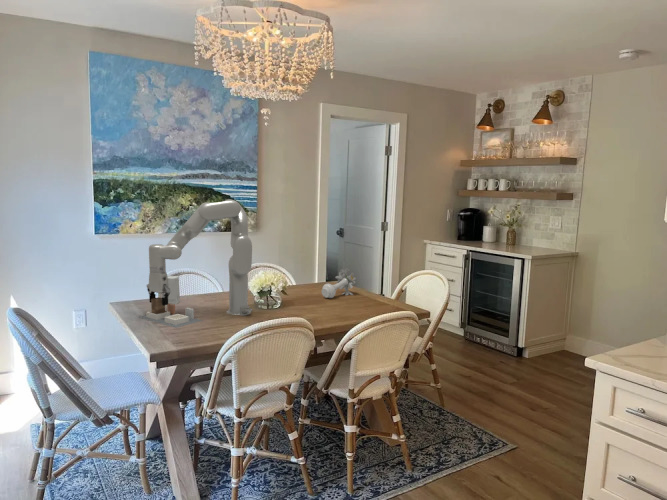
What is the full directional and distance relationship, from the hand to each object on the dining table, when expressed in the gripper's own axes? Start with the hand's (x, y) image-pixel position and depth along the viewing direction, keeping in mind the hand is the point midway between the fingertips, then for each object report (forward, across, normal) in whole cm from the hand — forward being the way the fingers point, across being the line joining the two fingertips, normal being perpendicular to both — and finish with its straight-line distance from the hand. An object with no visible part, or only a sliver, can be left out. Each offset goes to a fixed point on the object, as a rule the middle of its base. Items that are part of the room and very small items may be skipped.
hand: (158, 303), depth 246 cm
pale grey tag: (+7, -14, -7) cm, 17 cm away
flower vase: (+10, -41, -101) cm, 109 cm away
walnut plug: (+7, 0, 0) cm, 7 cm away
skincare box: (+8, +19, -22) cm, 30 cm away
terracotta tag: (+7, 0, -7) cm, 10 cm away
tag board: (+8, -7, -1) cm, 10 cm away
